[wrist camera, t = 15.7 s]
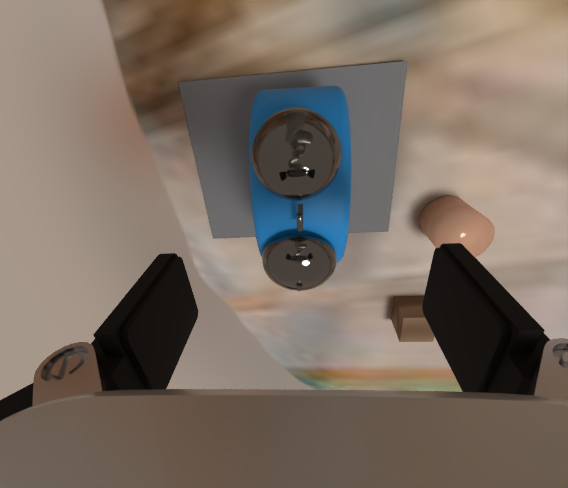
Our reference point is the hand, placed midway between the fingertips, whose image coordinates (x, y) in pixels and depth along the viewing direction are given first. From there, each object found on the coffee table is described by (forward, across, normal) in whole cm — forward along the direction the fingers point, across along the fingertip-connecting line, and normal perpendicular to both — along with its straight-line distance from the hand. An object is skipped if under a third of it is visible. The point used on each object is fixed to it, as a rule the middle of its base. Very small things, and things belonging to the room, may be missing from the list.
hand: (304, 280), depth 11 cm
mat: (+21, +1, +1) cm, 21 cm away
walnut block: (+21, -13, +21) cm, 32 cm away
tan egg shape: (+21, -15, +8) cm, 27 cm away
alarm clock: (+20, 0, +1) cm, 20 cm away
